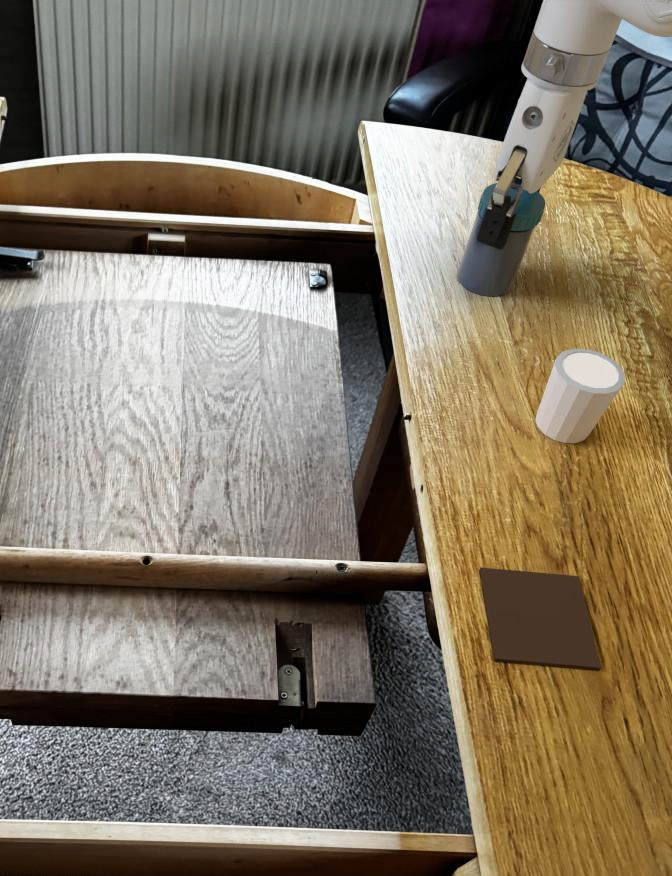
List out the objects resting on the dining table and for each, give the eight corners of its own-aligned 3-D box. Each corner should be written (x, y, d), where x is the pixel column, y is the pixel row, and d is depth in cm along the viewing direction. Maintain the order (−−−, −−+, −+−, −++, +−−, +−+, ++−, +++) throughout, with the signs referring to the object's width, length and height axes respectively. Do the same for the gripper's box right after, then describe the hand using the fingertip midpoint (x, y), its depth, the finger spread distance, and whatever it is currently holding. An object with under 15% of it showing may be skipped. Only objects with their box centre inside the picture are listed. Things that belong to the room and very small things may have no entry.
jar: (507, 266, 113) (536, 189, 105) (515, 299, 109) (546, 221, 101) (453, 261, 112) (479, 184, 105) (460, 293, 109) (486, 215, 101)
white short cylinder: (531, 442, 94) (558, 386, 88) (526, 398, 98) (552, 342, 92) (599, 452, 94) (630, 397, 88) (591, 407, 98) (621, 352, 92)
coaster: (577, 578, 84) (579, 575, 83) (599, 670, 78) (601, 667, 78) (478, 570, 83) (480, 567, 83) (493, 661, 78) (495, 658, 77)
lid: (549, 211, 105) (555, 195, 103) (526, 238, 101) (532, 222, 100) (491, 191, 107) (496, 175, 105) (467, 217, 103) (472, 200, 102)
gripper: (570, 102, 85) (504, 277, 100) (628, 42, 94) (559, 210, 109) (495, 77, 88) (441, 251, 102) (559, 20, 97) (500, 187, 111)
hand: (503, 228), depth 105 cm, fingers closed on lid, 6 cm apart
